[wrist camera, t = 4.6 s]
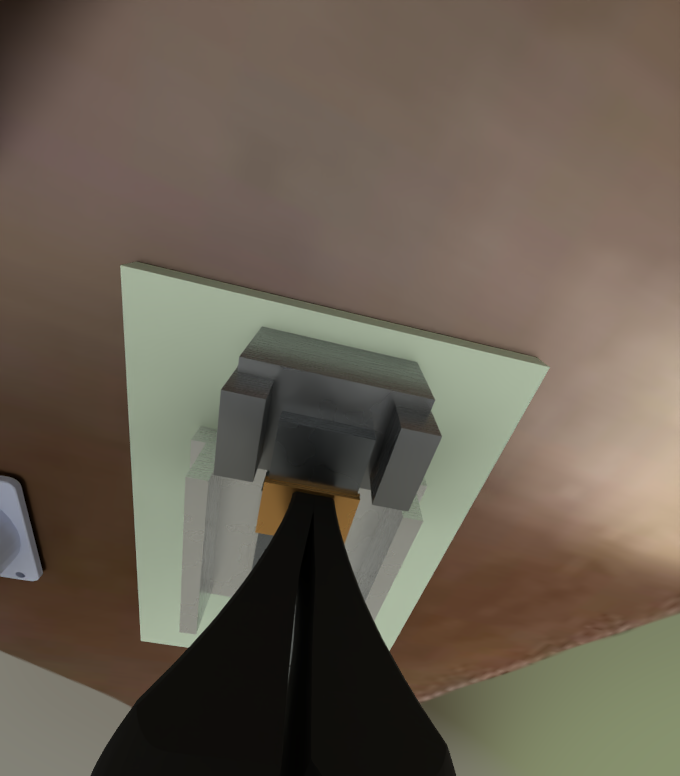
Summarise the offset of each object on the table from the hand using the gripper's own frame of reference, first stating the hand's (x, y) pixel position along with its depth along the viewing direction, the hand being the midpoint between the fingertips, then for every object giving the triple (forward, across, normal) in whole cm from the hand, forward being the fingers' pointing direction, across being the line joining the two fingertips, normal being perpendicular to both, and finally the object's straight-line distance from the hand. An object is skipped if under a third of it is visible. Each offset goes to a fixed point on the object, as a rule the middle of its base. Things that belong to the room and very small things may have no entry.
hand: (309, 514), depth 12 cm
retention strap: (+1, 0, +5) cm, 5 cm away
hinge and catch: (+4, 0, +5) cm, 7 cm away
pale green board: (+5, 0, +6) cm, 8 cm away
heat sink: (+4, 0, +5) cm, 6 cm away
